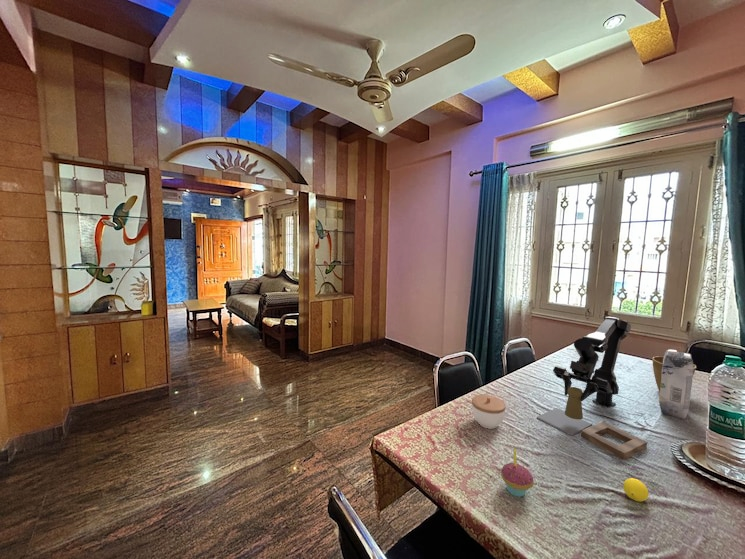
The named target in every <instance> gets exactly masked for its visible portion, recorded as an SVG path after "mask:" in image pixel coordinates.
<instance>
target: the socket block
mask: <svg viewBox="0 0 745 559" xmlns="http://www.w3.org/2000/svg"><path fill="white" fill-rule="evenodd" d="M604 435H609V436H611V437H613V438H615V439H617V440H618V441H620V442H623V443H621V444H620V445H619V444H617V443H615V442H613V441H612V440H609V439H607V438H605V437H604ZM579 436H580V438H582V439H584V440H586V441H588V442H589V443H592V444H593V445H595V446H596V447H599V448H601V449H602V450H604V451H606V452H608V453H609V454H612V456H613V455H614V456H615V457H617V458H618V459H621V460H623V461H625V460H628V459H629V458H631V457H633V456H636V455H637V454H639V453H641V452H643V451H645V450H647V447H648V441H646V440H644V439H642V438H639V437H637V436H635V435H633V434H632V433H629V432H627V431H625V430H622V429H621V428H618V427H616V426H614V425H613V424H610V423H608V422H605V421H601V422H598V423H596V424H592V426H590V427H588V428H586V429H583V430H581V432H580V435H579Z"/></svg>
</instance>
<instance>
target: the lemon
mask: <svg viewBox="0 0 745 559" xmlns="http://www.w3.org/2000/svg"><path fill="white" fill-rule="evenodd" d="M622 488H623V491H624V493H625V494H626V495H627V497H628V498H629V499H632V500H634V501H635V502H644V501H646V500H647V499H648V498H649V496H650V495H649V490H648V488H647V486H646V484H645V483H644V482H642V481H640V480H639V479H637V478H633V477H631V478H627V479H626V480H624V481H623V485H622Z"/></svg>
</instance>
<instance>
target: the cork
mask: <svg viewBox="0 0 745 559" xmlns="http://www.w3.org/2000/svg"><path fill="white" fill-rule="evenodd" d="M583 392H584V391H583V390H582V389H581V388H578V387H575V386H571V387H570V388H568V390H567V393H568V394H567V395H568V397H567V400H566V405H565V410H564V412H565V415H566V416H568V417H570V418H572V419H578V420H579V419H582V420H584V418H583V417H584V413H583V403H582V402H583V401H581V396H582V394H583Z"/></svg>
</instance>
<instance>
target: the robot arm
mask: <svg viewBox="0 0 745 559" xmlns="http://www.w3.org/2000/svg"><path fill="white" fill-rule="evenodd" d="M631 329H632V326H631V323H629V322H628V321H627V320H622V319H620V318H618V317H613V316H605V317H604V320H603V321H602V323H601V324H600V325H599V327H598V328H597V329H596V331H595V332H592V333H591V332H590V333H588V334H587V335H586V336H584V335H583V336H582V338H578V339H576V340H575V341H574V342H573V347H574V349H575V350H576V353H577V354H578V356H579V358H578V360H576V361H574V360H571V361H570V364H569V365H570V366H569V369H571V372H569V371H568V370H567V369H566V368H565V367H562V366H559V365H556V366H554V367H553V369H552V372H553V374H554V375H555V377H556V378H559V379H562V380H563V384H564V395H565V397H567V395H568V393H567V390H568V388H570V387H572V384H573V382H572V380H576V381H579V382H583V383H585V389H584V390H583V391H582V392H583V394H582V396H581V402H583V401H585V400H586V399H587V398H588V397H589V396H591V395H593V394H595V393H596V395H595V398H594V399H592V402H594V403H596V404H598V405H601V406H603V407H605V408H610V407H613V406H616V404H617V403H616V402H613V396H615V395H619V392H620V390H619V385H618V383H617V376H616V374H615V371H614V370H615V367H616V366H615V365H616V362H617V359H618V355H619V351H620V348H621V343H622V341H623V340H624V339H625V338H627V337H628V334H629V333H630V331H631ZM598 353H601V354H603V353H604V354H603V357H602V362H601V365H600V367H598V368H596V366H597V362H598V361H599V357H600V356H599V354H598ZM571 379H572V380H571Z"/></svg>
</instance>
